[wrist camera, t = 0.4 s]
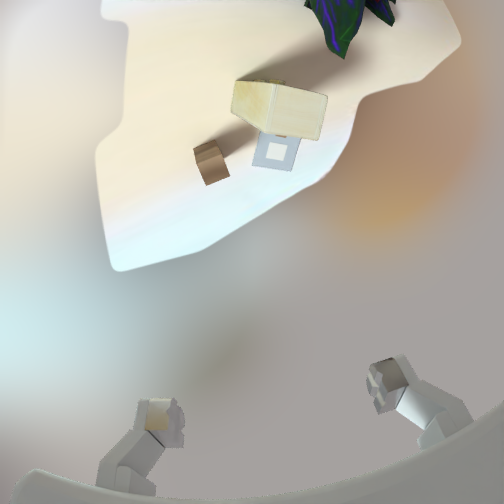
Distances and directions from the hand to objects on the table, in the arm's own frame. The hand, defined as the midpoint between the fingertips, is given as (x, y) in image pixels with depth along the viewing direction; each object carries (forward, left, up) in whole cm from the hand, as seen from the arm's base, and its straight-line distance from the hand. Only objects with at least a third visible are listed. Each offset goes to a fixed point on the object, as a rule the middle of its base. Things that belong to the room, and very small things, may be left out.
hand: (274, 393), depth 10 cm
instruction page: (-1, +18, -50) cm, 53 cm away
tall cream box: (-8, +9, -50) cm, 51 cm away
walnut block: (+6, +5, -50) cm, 50 cm away
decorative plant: (-37, +14, -50) cm, 64 cm away
